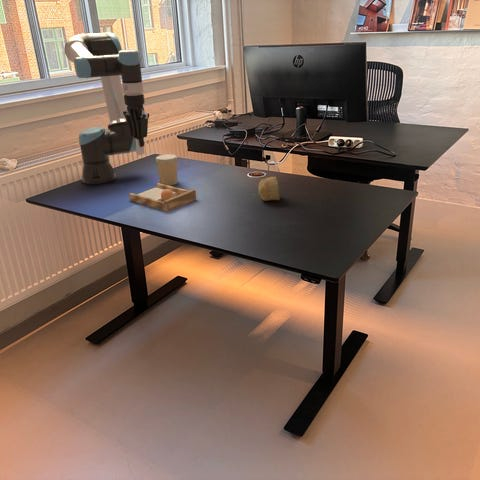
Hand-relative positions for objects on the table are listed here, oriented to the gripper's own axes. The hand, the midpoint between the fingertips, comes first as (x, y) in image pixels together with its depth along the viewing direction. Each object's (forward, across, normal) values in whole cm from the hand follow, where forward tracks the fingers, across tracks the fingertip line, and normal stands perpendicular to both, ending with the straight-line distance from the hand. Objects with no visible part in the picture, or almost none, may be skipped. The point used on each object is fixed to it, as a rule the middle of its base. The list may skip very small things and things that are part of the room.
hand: (140, 154), depth 190 cm
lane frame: (+17, +11, 0) cm, 20 cm away
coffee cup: (+18, -3, +17) cm, 25 cm away
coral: (+17, +47, +24) cm, 55 cm away
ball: (+15, +14, -1) cm, 20 cm away
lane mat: (+17, +11, 0) cm, 20 cm away
